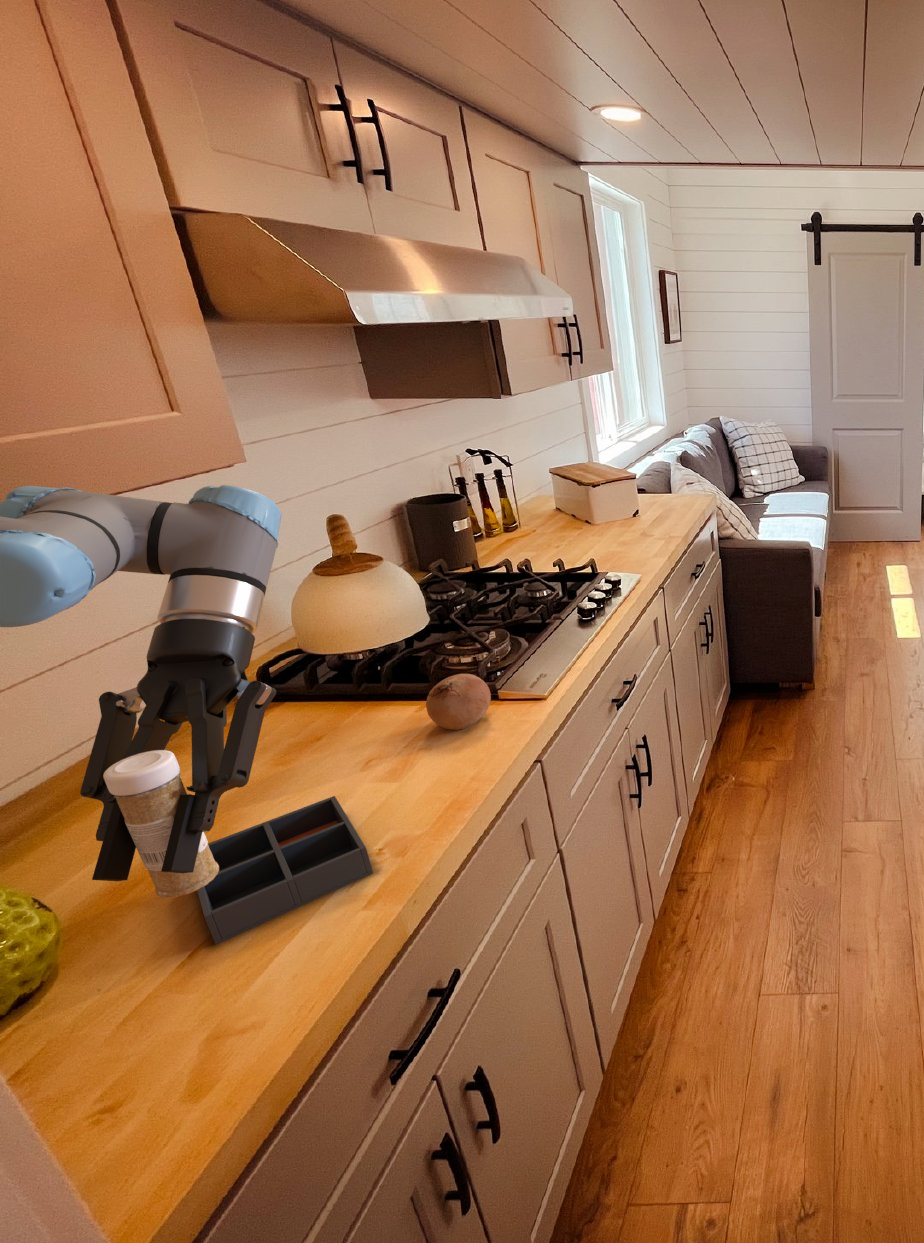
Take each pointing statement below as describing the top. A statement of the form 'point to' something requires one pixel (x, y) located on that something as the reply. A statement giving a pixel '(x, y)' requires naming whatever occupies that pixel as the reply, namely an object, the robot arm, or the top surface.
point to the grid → (281, 867)
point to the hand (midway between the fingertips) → (144, 875)
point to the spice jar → (157, 817)
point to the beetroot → (458, 701)
